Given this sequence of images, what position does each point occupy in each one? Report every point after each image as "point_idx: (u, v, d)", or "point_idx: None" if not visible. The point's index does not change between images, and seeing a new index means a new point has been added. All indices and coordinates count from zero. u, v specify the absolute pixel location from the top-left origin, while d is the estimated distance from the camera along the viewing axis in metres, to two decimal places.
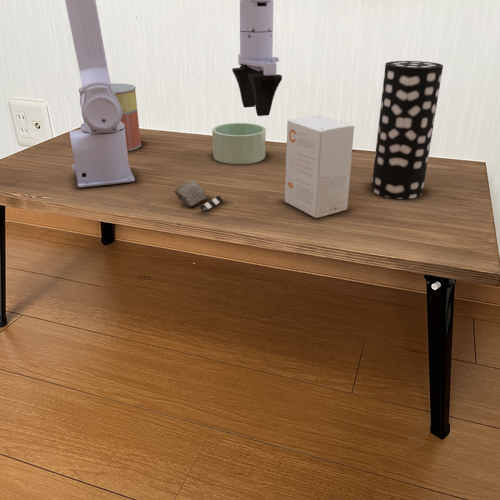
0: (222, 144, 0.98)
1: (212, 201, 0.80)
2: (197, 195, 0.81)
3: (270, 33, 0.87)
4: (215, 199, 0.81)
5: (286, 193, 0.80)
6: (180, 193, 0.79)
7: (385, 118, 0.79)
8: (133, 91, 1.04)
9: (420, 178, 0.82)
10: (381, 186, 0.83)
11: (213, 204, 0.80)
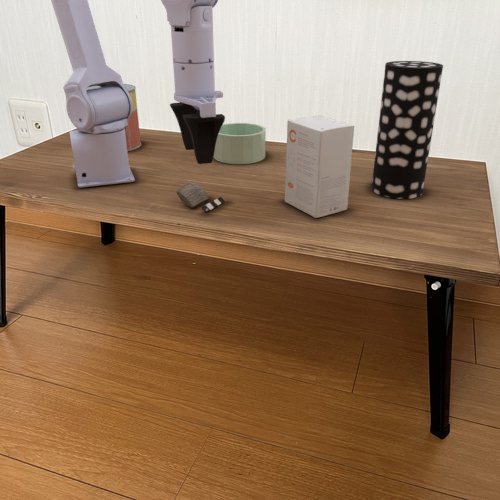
0: (222, 144, 0.98)
1: (214, 202, 0.80)
2: (198, 196, 0.80)
3: (209, 63, 0.71)
4: (217, 200, 0.80)
5: (286, 193, 0.80)
6: (182, 194, 0.79)
7: (385, 118, 0.79)
8: (133, 91, 1.04)
9: (420, 178, 0.82)
10: (381, 186, 0.83)
11: (215, 205, 0.80)
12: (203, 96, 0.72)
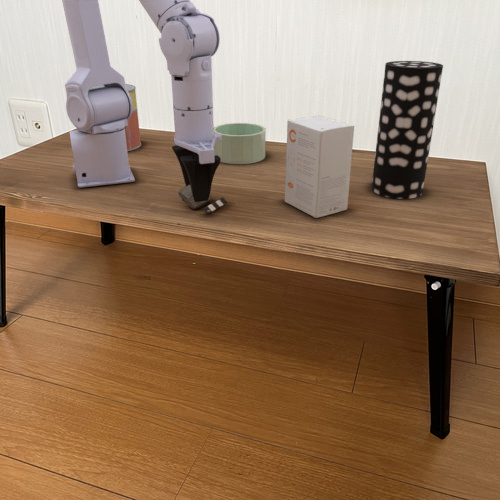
0: (222, 144, 0.98)
1: (216, 203, 0.79)
2: None
3: (208, 110, 0.73)
4: (219, 201, 0.80)
5: (286, 193, 0.80)
6: (184, 195, 0.78)
7: (385, 118, 0.79)
8: (133, 91, 1.04)
9: (420, 178, 0.82)
10: (381, 186, 0.83)
11: (217, 206, 0.79)
12: (202, 141, 0.74)
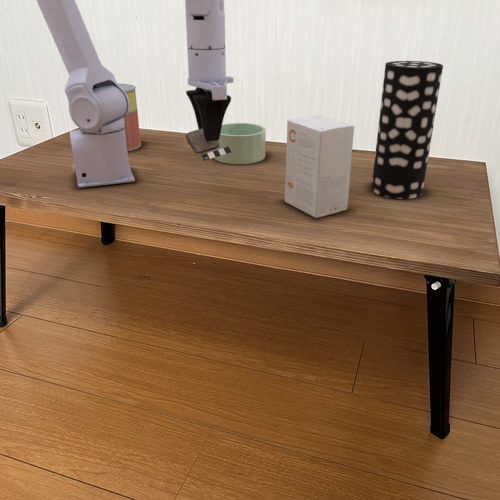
0: (222, 144, 0.98)
1: (218, 151, 0.81)
2: (207, 142, 0.82)
3: (221, 50, 0.76)
4: (222, 150, 0.81)
5: (286, 193, 0.80)
6: (189, 138, 0.81)
7: (385, 118, 0.79)
8: (133, 91, 1.04)
9: (420, 178, 0.82)
10: (381, 186, 0.83)
11: (218, 154, 0.81)
12: (215, 81, 0.77)
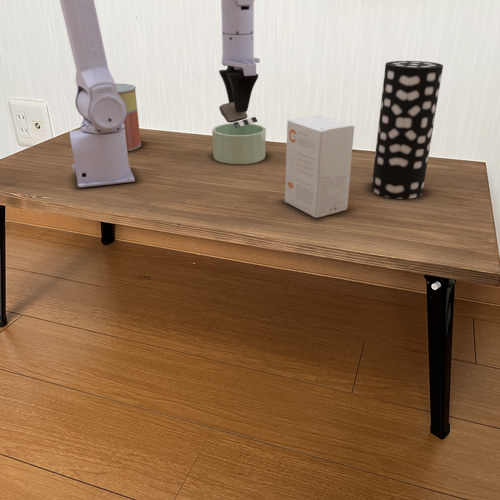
0: (222, 144, 0.98)
1: (247, 120, 0.97)
2: (237, 113, 0.98)
3: (250, 35, 0.92)
4: (250, 119, 0.97)
5: (286, 193, 0.80)
6: (222, 109, 0.97)
7: (385, 118, 0.79)
8: (133, 91, 1.04)
9: (420, 178, 0.82)
10: (381, 186, 0.83)
11: (247, 123, 0.97)
12: (245, 60, 0.93)
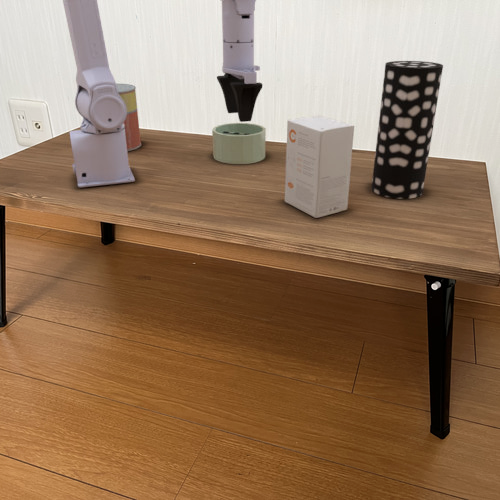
0: (222, 144, 0.98)
1: None
2: None
3: (251, 43, 0.93)
4: (242, 134, 1.00)
5: (286, 193, 0.80)
6: None
7: (385, 118, 0.79)
8: (133, 91, 1.04)
9: (420, 178, 0.82)
10: (381, 186, 0.83)
11: None
12: (245, 68, 0.94)
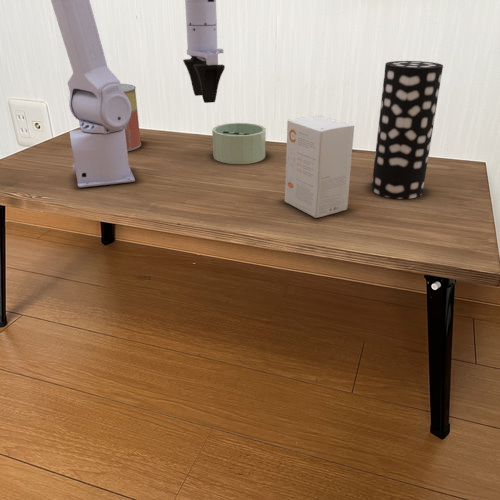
0: (222, 144, 0.98)
1: None
2: None
3: (213, 26, 0.96)
4: (242, 134, 1.00)
5: (286, 193, 0.80)
6: None
7: (385, 118, 0.79)
8: (133, 91, 1.04)
9: (420, 178, 0.82)
10: (381, 186, 0.83)
11: None
12: (208, 51, 0.97)
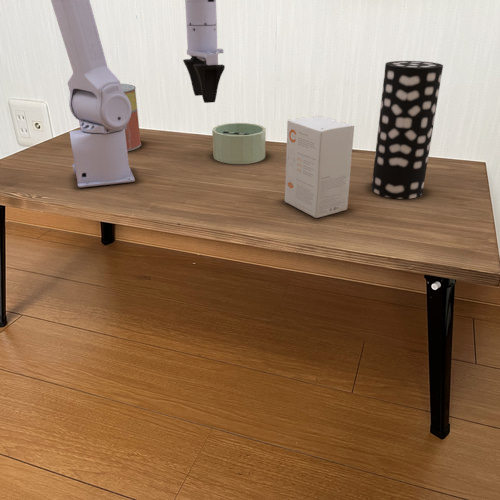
0: (222, 144, 0.98)
1: None
2: None
3: (213, 26, 0.96)
4: (242, 134, 1.00)
5: (286, 193, 0.80)
6: None
7: (385, 118, 0.79)
8: (133, 91, 1.04)
9: (420, 178, 0.82)
10: (381, 186, 0.83)
11: None
12: (208, 51, 0.97)
